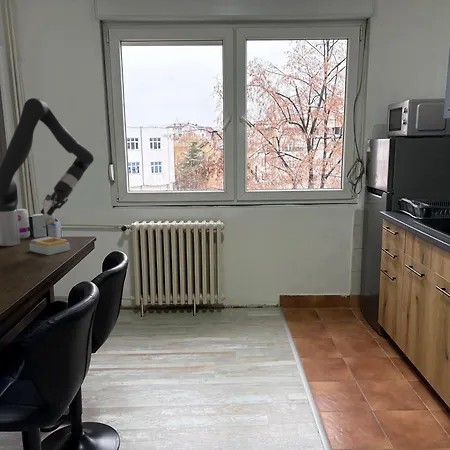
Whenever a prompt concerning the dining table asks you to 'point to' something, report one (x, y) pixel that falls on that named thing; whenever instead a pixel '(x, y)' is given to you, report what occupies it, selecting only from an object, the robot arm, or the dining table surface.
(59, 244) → the bottle holder tray
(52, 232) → the medicine box
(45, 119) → the robot arm
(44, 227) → the skincare box
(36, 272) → the dining table surface
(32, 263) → the dining table surface
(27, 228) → the supplement can
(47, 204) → the grey tall cylinder
